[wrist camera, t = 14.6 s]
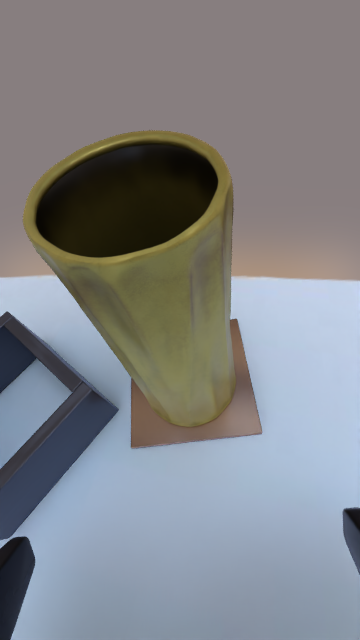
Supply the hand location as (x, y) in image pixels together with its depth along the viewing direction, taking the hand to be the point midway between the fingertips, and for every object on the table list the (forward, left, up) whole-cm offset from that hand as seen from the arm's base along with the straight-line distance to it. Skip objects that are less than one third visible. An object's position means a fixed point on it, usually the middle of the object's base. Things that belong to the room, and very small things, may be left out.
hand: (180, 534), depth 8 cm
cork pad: (+5, -5, -9) cm, 12 cm away
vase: (+5, -5, -9) cm, 11 cm away
